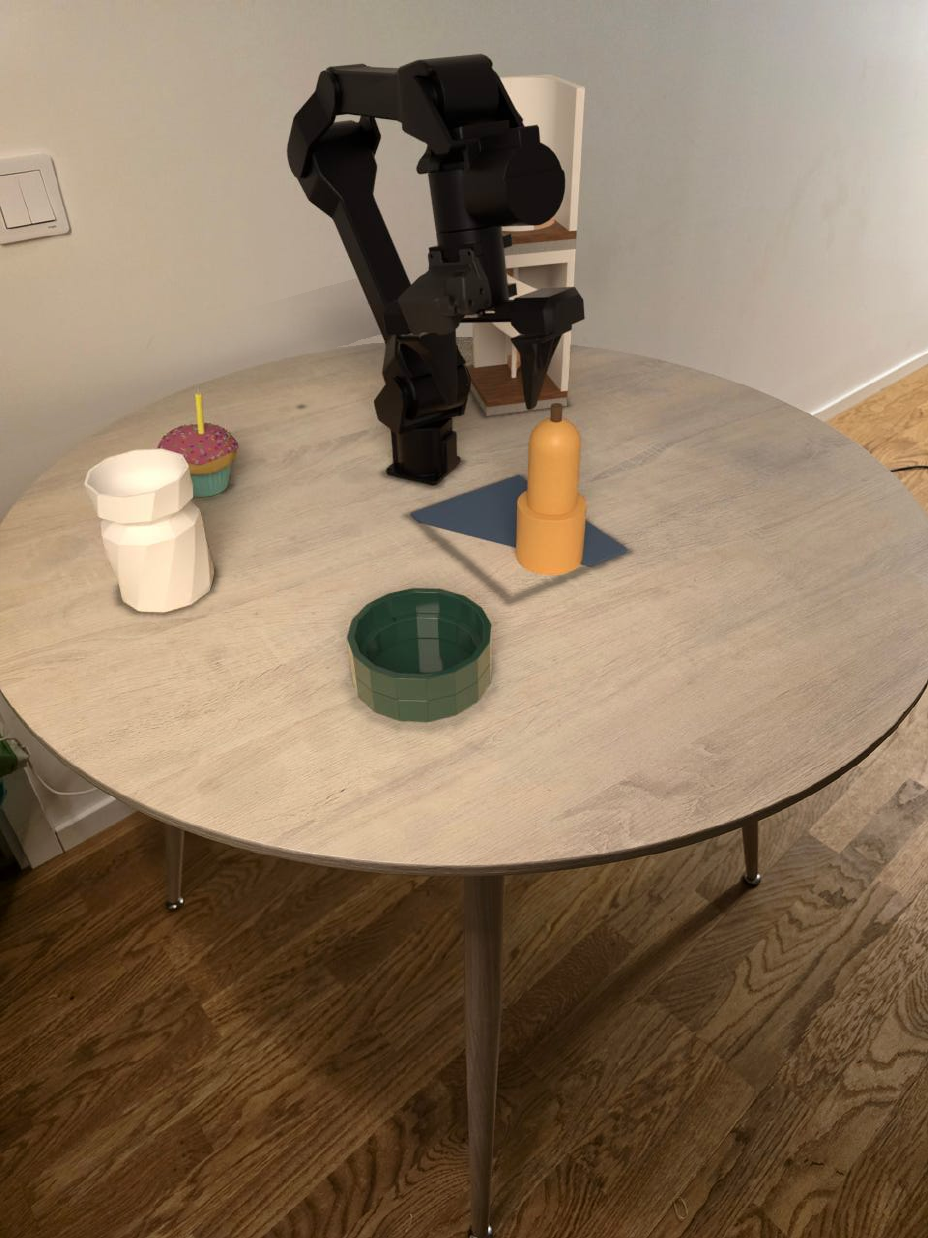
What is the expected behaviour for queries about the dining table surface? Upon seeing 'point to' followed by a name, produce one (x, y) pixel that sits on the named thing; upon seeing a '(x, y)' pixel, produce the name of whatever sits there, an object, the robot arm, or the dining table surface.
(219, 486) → the cupcake
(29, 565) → the dining table surface
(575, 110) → the white tower
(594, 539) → the towel
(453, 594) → the pot
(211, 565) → the vase
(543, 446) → the squash
